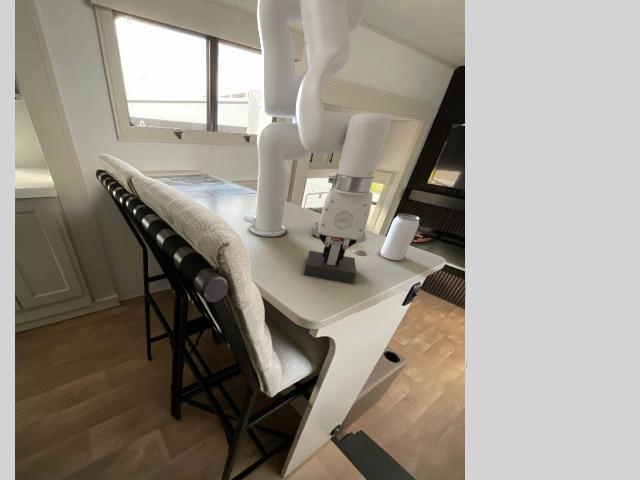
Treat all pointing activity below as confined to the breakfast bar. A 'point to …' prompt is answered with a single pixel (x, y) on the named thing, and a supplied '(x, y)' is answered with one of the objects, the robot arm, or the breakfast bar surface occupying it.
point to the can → (400, 236)
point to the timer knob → (334, 251)
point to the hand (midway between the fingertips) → (331, 260)
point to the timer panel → (330, 268)
